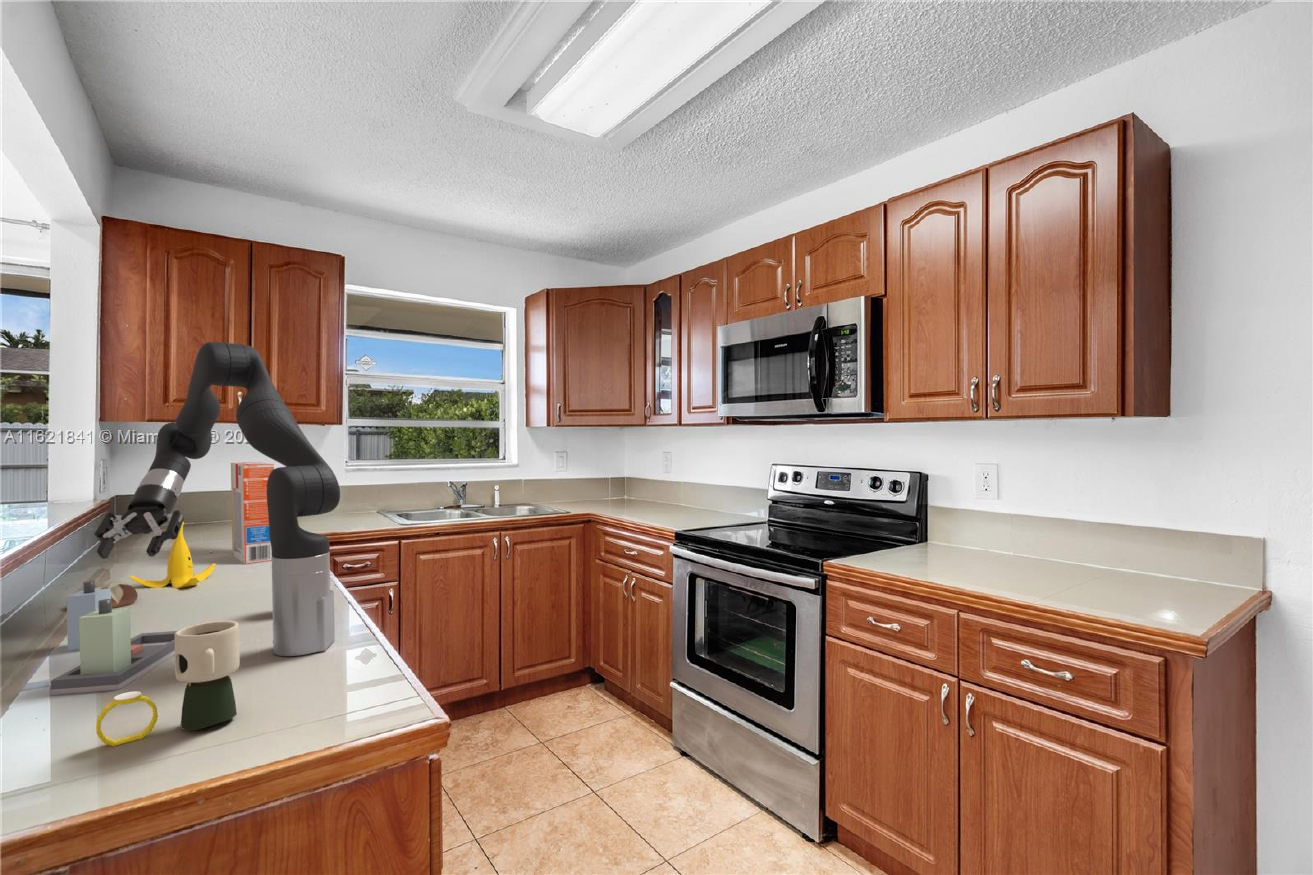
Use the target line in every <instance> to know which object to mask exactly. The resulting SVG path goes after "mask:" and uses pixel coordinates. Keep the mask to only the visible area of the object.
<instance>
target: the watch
mask: <svg viewBox="0 0 1313 875" xmlns="http://www.w3.org/2000/svg"><path fill="white" fill-rule="evenodd" d="M135 702H143V703H146V704H147V705H148V706H149V707H150V708H151V709H152V717H151V719H150V722H149V724H148V725H147V727H145V728H144V729H143V730H142V731H141V732H140V733H137V734H133V735H130V736H126V737H121V738H118V739H113V738H110V737H108V736H106V735H105V734H104V733H103V731H102V729H101V728H102V722H103V720H104V718H105V717H106V715H107V714H108V712H109V711H111V710H113V709H114V708H115V707H116V706H122V705H123V706H124V705H129V704H133V703H135ZM158 717H159V716H158V709H157V705H156V703H155V702H154V701H153V700H152V699H151V698H149V697H148V696H146V695H142V692H140V691H129V692H124V693H120V694H117V695H115V696H114V697H113V700H112V701H111V702H110V703H108V704H107V705H105V706H104V708H103V709H102V710H101V712H100V714H99V715H98V717H97V719H96V727H95V730H96V731H95V732H96V735H97V737H98V738H99V739H100V741H101V742H102V743H103V744H106V745H108V746H111V747H116V746H119V745H122V744H126V743H130V742H135V741H139V740H143V739H145V737H146V736H148V735H149V733H151V731H153V729H154V727H155V725H156V724H157V721H158Z"/></svg>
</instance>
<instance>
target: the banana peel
mask: <svg viewBox="0 0 1313 875" xmlns="http://www.w3.org/2000/svg"><path fill="white" fill-rule="evenodd" d="M184 523H185V522H184V521H183V523H182V526H181V528H180V531H179V534H178V536H177V538H176V539H174V542H173V544H172V547H171V550H170V551H169V552H170V553H169V557H168V561H167V569H166V570H167V572H166V577H165V578H164V579H163V580H148V579H143V578H139V577H137V576H134V575H132V574H131V575H130V576H129V578H130V579H132V581H135V582H136V583H138V584H140V585H142V586H145V587H147V588H151V589H157V588H164V587H166V586H168V585H169V584H171V586H172V588H173V589H176V590H177V589H178V590H179V589H184V588H189V587H194V586H197V585H198V582H202V581H205V580H206V579H207V578H209V576H210V575H211V574H212V573H213V571H214V569H215V568H216V566H217V563H212V564H210V565H209V566H208V567H207V568H206V569H204V570H203V571H201V572H200V573H198V574H195V575H194V564H193V560H192V559H193V558H192V556H191V551H190V549H189V546H188V545H187V542H186V540H185V537H184Z"/></svg>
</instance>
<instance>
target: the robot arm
mask: <svg viewBox="0 0 1313 875" xmlns="http://www.w3.org/2000/svg"><path fill="white" fill-rule="evenodd" d="M193 364H194V365H193V369H192V373H191V376H190V382H189V384H188V389H187V391H188V392H187V395H186V398H185V401H184V404H183V405H182V407H181V408H180V410H179V413H178V414H177V417H176V419H175V421H172V422H168V423H165V424H164V425H163V426H161V428H160V429H159V431H158V433H157V436H156V449H155V455H154V459H153V461H152V463H151V465H150V467H149V469H148V471H147V473H146V474H145V475H144V477H143V478H142V479H141V481H140V483H139V485H138V486H137V488H136V490H135V491H134V493H133V495H132V498H131V499H130V501H129V503H128V507H127V510H126V512H124V513H123V514H122V515H121V514H118V515H117V514H114V512H111V511H110V512H107V514H106V515H105V517H104V518H103V520H102V521H101V523H100V524H99V526H98V527H97V529H96V530H95V532H94V536H95V537H96V538H97V539H98V541H99V542H100V544H99V546H98V548H97V550H96V553H97V555H98V556H99V557H100V558H101V559H108V558H109V556H110V555H111V552H112V551H113V548H114V546H115V543H117V542H118V541H120V540H122V539H126V538H128V537H130V536H131V535H139V534H144V535H147V534H150V533H154V535H155V536H152V538H151V540H150V542H149V544H148V545H147V548H146V550H145V552H146V554H147V555H148V556H149V557H155V556H156V555H157V554H158V553H160V551H161V549H162V546H163V545H164V543H165V542H167V540H174V541H175V539H176V538H177V536H178V534H179V531H180V528H181V526H182V523H183V522H184V521H185V520H184V519H185V518H184V516H183V514H182V513H181V511H180V510H174V511H173V509H174V507H175V505H176V503H177V501H178V498H179V497H180V495H181V492H182V489H183V485H184V484H185V481H186V479H187V477H188V475H189V473H190V471H191V466H192V464H191V461H190V460H199V459H202V458H203V457H205V456H206V455H207V454H208V453H209V452H210V449H211V445H212V429H213V427H214V425H215V424H216V422H217V421H218V418H219V417H220V413H221V404H220V402H219V400H218V398H217V396H216V395H215V393H213V392H214V391H213V390H212V389H211V386H217V387H219V386H220V387H237V388H238V387H239V388H244V389H246V390H247V391H248V392H247V393H246V394H245V395H244V397H243V398H242V399H241V401H240V403H239V404H238V407H237V409H236V414H235V416H236V417H235V418H236V419H235V420H236V423H237V425H238V427H239V430H241V433H242V435H243V436H244V439H245V440H246V441H247V443H248V444H249V445H250V446H251V447H252V448H253V449H254V450H255V451H257V452H259V453H260V454H262V455H264V456H266V457H268V458H269V459H272V460H273V461H275V462H277V463H279V464H281V465H283V466H280V467H276V468H274V470H273V471H272V472H271V473H270V475H269V477H268V481H267V506H268V517H269V535H270V542H271V549H272V561H271V581H272V582H271V592H272V593H271V594H272V595H271V596H272V600H271V602H272V605H271V606H272V645H273V654H274V655H276V656H279V657H295V656H296V657H297V656H304V655H309V654H312V653H317V652H325V651H326V650H327V649H328V648H329V647H330V646H331V645H332V644H333V643H334V642H335V638H336V637H335V635H336V634H335V633H336V632H335V592H334V590H333V589H331V563H330V562H331V561H330V560H331V558H330V557H331V556H330V554H331V552H330V548H331V547H330V539H329V537H328V536H327V535H325V534H322V533H321V534H320V533H315V532H310V531H308V530H305V529H303V528H301V526H300V525H299V521H298V518H300V517H310V516H311V517H313V516H319V515H323V514H328V513H330V512H331V513H332V511H334V510H335V509H336V508H337V506H339V503H340V499H341V488H340V484H339V481H338V479H337V476H336V474H335V473H334V471H333V470H332V468H331V467H330V465H329V464H328V463H327V462H326V460H325V459H324V458H323V457H322V456H321V455H320V454H319V453H318V451H317V450H316V448H315V447H314V446H313V445H312V444H311V442H310V441H309V440H308V438H307V436H306V435H305V434H304V432H303V431H302V430H301V428H300V425H298V422H297V421H296V419H295V417H294V415H293V413H292V412H291V411H290V409H289V407H288V406H287V404H286V403H285V402H284V399H282V397H281V395H280V393H279V392H278V390H277V388H276V387H275V385H274V383H273V381H272V379H271V377H270V374H269V372H268V369H267V368H266V365H265V363H264V361H263V359H262V356H261V354H260V353H259V351H258V350H257V349H256V348H254V347H253V346H252V345H248V344H242V343H240V344H239V343H233V342H231V343H230V342H220V341H208V342H205V343H203V344H202V346H201V347H200V348H199V350H198V352H197V354H196V358H195V360H194V363H193ZM189 459H190V460H189ZM172 511H173V512H172ZM168 521H169V522H168ZM165 523H168V524H167V528H166V530H164V531H163V529H161V527H162V526H163V525H165ZM124 527H125V529H126V530H123V528H124Z"/></svg>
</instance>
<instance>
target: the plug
mask: <svg viewBox="0 0 1313 875" xmlns="http://www.w3.org/2000/svg"><path fill="white" fill-rule="evenodd" d="M82 585H83V586H82V588H83V590H80V591H77V592H75V593H74V592H73V593H72V594H68V595H67V596H66V621H67V622H66V625H67V627H66V628H67V629H66V630H67V631H66V632H67V651H80V629H79V618H80V617H82V616H85V615H87V614H89V613H92V612H94V611H97V610H99V607H98V601H100V600H104V599H111V589H95V586H96V581H95V580H87V581H83V584H82Z"/></svg>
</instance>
